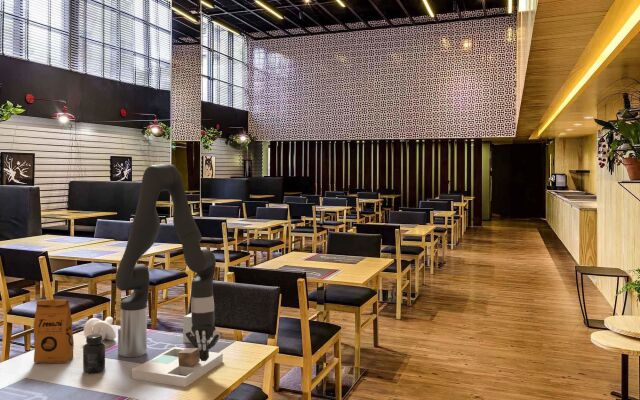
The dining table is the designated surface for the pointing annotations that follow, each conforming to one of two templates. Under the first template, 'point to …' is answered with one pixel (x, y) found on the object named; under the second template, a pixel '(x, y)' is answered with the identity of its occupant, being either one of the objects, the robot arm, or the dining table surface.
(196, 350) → the walnut block
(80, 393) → the dining table surface
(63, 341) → the coffee package
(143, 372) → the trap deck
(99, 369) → the supplement bottle
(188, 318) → the small box
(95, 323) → the white lumpy figure
